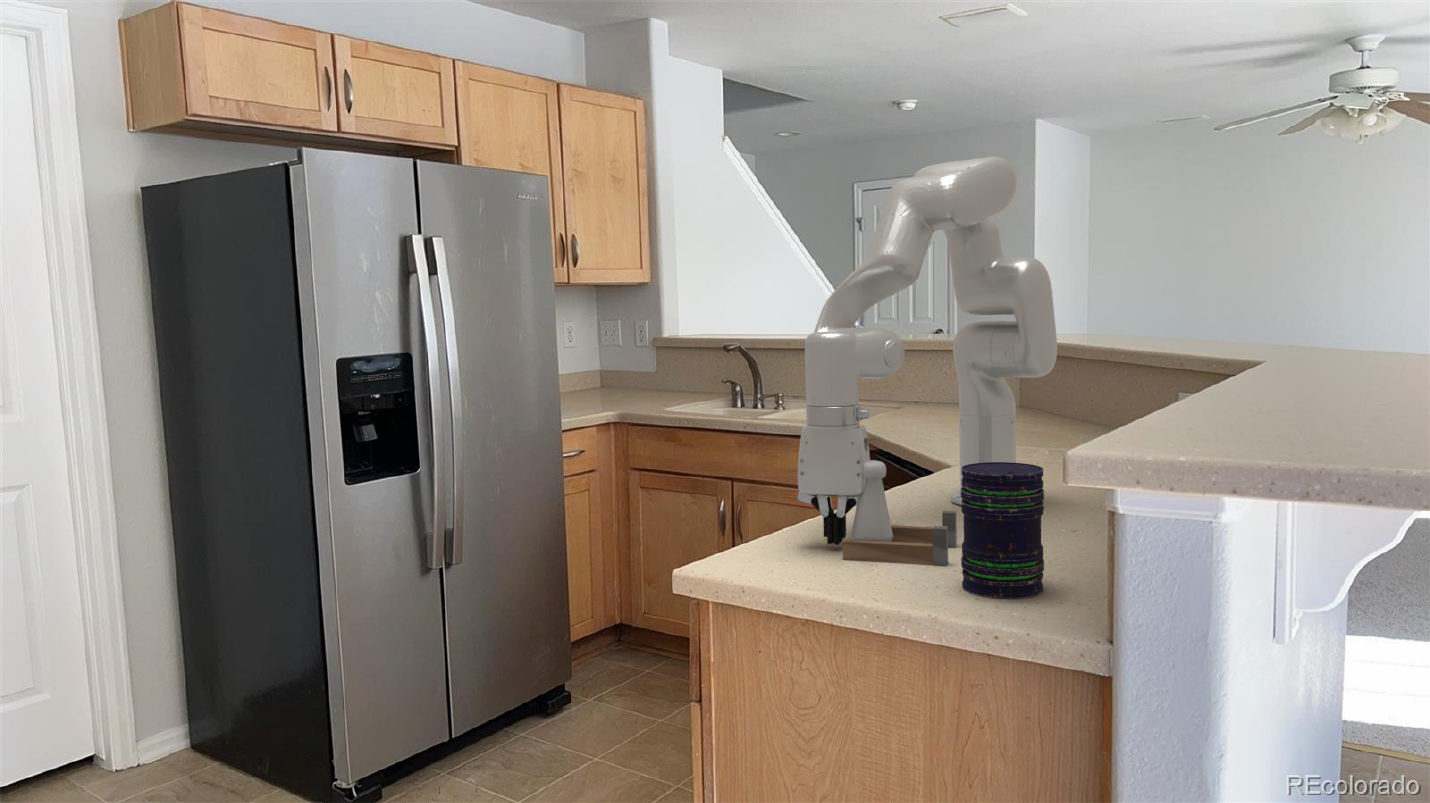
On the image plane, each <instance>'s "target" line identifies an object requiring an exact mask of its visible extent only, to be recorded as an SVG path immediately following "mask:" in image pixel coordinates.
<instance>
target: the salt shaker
mask: <svg viewBox="0 0 1430 803" xmlns="http://www.w3.org/2000/svg"><path fill="white" fill-rule="evenodd" d="M886 476H887V467H886V464H885V463H884V462H883V461H879V460H874V459H872V460H871V459H870V460H869V461H868V462H866V463H865V465H864V467H863V477H864V479H866V489H865V492H864V494H863V495H861V496H858V500H857V506H855V507H856V508H855V514H854V519H853V523H852V524H853V525H852V529H851V530H852V531H851V536H852V540H863V541H883V542H891V540H892V537H893V533H892V528H891V525H892V524H891V519H890V512H889V507H888V504H887V502H888V501H887V498H886V492H885V488H884V483H883V478H886Z"/></svg>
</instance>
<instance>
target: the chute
mask: <svg viewBox="0 0 1430 803" xmlns="http://www.w3.org/2000/svg"><path fill="white" fill-rule="evenodd" d="M941 513H942V515H941V517H942V519H941V520H942V522H941V523H942V524H941V525H933V526H918V525H917V526H915V525H894V524H893V525H892V524H891V528H892V533H893V537H892V540H891V542H883V541H863V540H853V539H844V540H842V560H843V561H844V560H849V561H862V562H863V561H864V562H865V561H866V562H879V563H880V562H881V563H882V562H883V563H899V564H900V563H901V564H918V565H933V566H943V567H945V566H946V567H947V566H948V563H949V548H956V547H957V545H958V544H957V543H958V542H957V537H958V536H957V528H958V527H957V510H942V512H941Z"/></svg>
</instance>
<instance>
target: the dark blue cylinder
mask: <svg viewBox="0 0 1430 803" xmlns="http://www.w3.org/2000/svg"><path fill="white" fill-rule="evenodd" d="M961 473H962V475H963V478H962V488H961V498H962V504H961V505H960V507H961V512H962V514H963V541H962V543H961V554H962V555H961V557H960V562H961V563H960V564H961V568H962V571H961V574H962V576H963V580H962V582H961V583H962V584H961V585H962V586H961V587H962V589H963V590H964V591H965V592H967V593H969V594H971V595H974V596H978V597H982V598H988V599H990V598H991V599H997V600H999V599H1000V600H1022V599H1029V598H1033V597H1036V596H1039V595H1041V594H1042V593H1043V591H1044V584H1043V579H1044V573H1043V572H1045V571H1044V570H1045V559H1044V546H1043V544H1042V516H1043V515H1044V509H1045V506H1044V500H1045V489H1044V480H1043V477H1044V468H1043V467H1042V466H1039V465H1036V464H1030V463H1024V462H1023V463H1022V462H1016V463H1012V462H986V463H974V464H968V465H965V466H963V467H962V468H961Z"/></svg>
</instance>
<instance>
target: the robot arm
mask: <svg viewBox="0 0 1430 803" xmlns="http://www.w3.org/2000/svg"><path fill="white" fill-rule="evenodd" d="M1017 185H1018V184H1017V175H1016V172H1015V169H1014V167H1013V166H1012V165H1011V163H1010V162H1009V161H1008V160H1006V159H1005V158H1002V157H1000V156H986V157H977V158H971V159H965V160H964V159H963V160H955V161H954V160H953V161H948V162H941V163H935V164H931V165H927V166H925V167H923V168H920V169H919V170H917V171H916V172H915V173H914V175H913V177H908V178H906V179H902V180H900V181H898V182H896V183H895V184H893V185H892V187H891V188H890V189H889V191H888V193H887V195H886V198H885V201H884V204H883V207H882V210H881V213H880V215H879V219H878V221H877V224H876V228H875V231H874V233H873V237H872V239H871V241H870V245H869V248H868V251H867V253H866V257H865V259H864V260H863V262H862V263H861V264H860V265H859V266H858V267H857V268H856V269H854V270H853V271H852V272H851V273H850V274H849V275H848V276H847V277H846V278H845V279H844V280H843V281H842V282H841V284H840V285H839V286H838V287H837V288H836V289H835V290H834V291H833V292H832V293H831V295H830V296H829V297H828V299H827V300H826V302H825V304H824V305H823V307H822V309H821V311H820V315H819V317H818V320H817V322H816V325H815V329H814V332H812V333H810V334H808V336H807V337H806V339H805V342H804V343H805V344H804V355H805V356H804V357H805V359H804V360H805V361H804V364H805V365H804V366H805V395H806V396H805V397H806V398H805V399H806V401H805V402H806V406H805V407H806V409H805V410H806V412H805V413H806V425H803V426H802V428H801V429H802V430H801V433H800V438H799V439H800V440H799V449H798V461H797V487H798V493H797V500H798V501H799V502H803V503H805V504H810V505H812V506H813V507H814V508H815V509H816V510H817V511H818V512H819V513H820V516H821V517H823V537H824V538H826V543H827V545H832V544H834V545H837V546H838V545H840V544H841V543H843V541H844V540H843V539H845V538H846V536H847V514H848V513H849V512H850V511H851V510H852V509H853V508H855V507H856V506H857V500H858V496H861V495H863V494H864V492H865V489H866V479H864V477H863V467H864V465H865V463H866V462H868V461H869V460H871V457H870V455H871V454H870V447H869V440H868V433H867V429H866V426H865V425H862V424H861V425H860V423H861V421H863V420H864V419H866V420H868V419H870V410H869V409H864V408H862V406H861V404H860V399H859V398H860V397H859V396H860V395H859V390H860V389H859V385H860V384H859V379H867V380H881V379H882V380H883V379H887V378H889V377H892V376H893V375H894V374H896V373H897V372H898V371H899V369H901V367H902V365H903V363H904V360H905V353H906V352H905V351H906V350H905V346H904V343H903V341H902V340H901V338H900V337H899V336H898V335H897V333H895V332H893V331H891V330H889V329H885V328H880V327H854V326H855V325H856V323H857V321H858V320H859V319H860V318H861V317H862V316H863V315H864V314H865V313H866V312H867V311H868V310H869V309H871V308H872V307H873V306H875V305H876V304H878V303H880V302H883V301H884V300H886V299H889V298H890V297H893V296H895V295H896V294H898V293H899V292H902V291H904V290H905V289H908V288H909V287H910V286H912V285H913V284H915V282H916V281H917V280H918V278H919V276H920V274H921V271H922V267H923V265H924V264H923V263H924V261H925V257H926V255H927V251H928V248H929V245H930V242H931V238H932V236H933V234H934V233H935V232H937V231H943V233H944V235H945V238H946V240H947V244H948V250H949V257H950V259H949V260H950V265H951V274H952V281H953V282H952V283H953V290H954V296H955V300H956V304H957V306H958V308H959V309H960V310H961V311H962V312H964V313H965V314H969V315H974V316H1002V315H1003V316H1007V315H1009V316H1011V315H1013V316H1014V319H1015V320H1014V321H1013V320H1012V321H1010V320H1009V321H1008V320H982V321H975V322H971V323H968V324H966V325H963V326H962V327H961V328H960V329H959V330H957V332H956V334H955V335H954V337H953V338H954V339H953V342H952V356H953V360H954V366H955V370H956V376H957V384H958V398H959V399H958V400H959V401H958V406H959V409H958V410H959V411H958V412H959V416H958V417H959V490H957V491H953V492H952V493H951V494H950V501H951V502H952V503H954V504H956V505H960V506H961V504H962V498H961V488H962V478H963V475H962V473H961V468H962V467H963V466H965V465H968V464H974V463H986V462H1012V463H1017V454H1016V453H1017V447H1016V446H1017V443H1016V442H1017V439H1016V438H1017V434H1016V433H1017V431H1016V430H1017V428H1016V426H1017V422H1016V421H1017V420H1016V419H1017V418H1016V417H1017V415H1016V414H1017V408H1016V407H1017V404H1016V400H1015V396H1014V394H1013V391H1012V389H1011V388H1010V386H1009V384H1008V383H1007V381H1006V380H1005V378H1031V379H1032V378H1033V379H1034V378H1042V377H1045V376H1046V375H1048V374H1050V373H1051V371H1052V370H1053V369H1054V368H1055V366H1056V363H1057V356H1058V338H1057V327H1056V318H1055V316H1056V315H1055V310H1054V308H1055V307H1054V299H1053V296H1054V295H1053V289H1052V283H1051V278H1050V275H1049V272H1048V270H1047V268H1046V267H1045V265H1044V264H1043V263H1042V262H1041V261H1040V260H1038V259H1037V258H1034V257H1029V256H1013V257H1011V256H1010V257H1005V256H1004V254H1003V249H1002V242H1001V235H1000V230H999V228H998V224H997V222H996V220H995V218H994V215H996V214H998V213H1001V212H1002V211H1003V210H1005V209H1006V208H1007V207H1008V206H1009V205H1010V204H1011V202H1012V201H1013V199H1014V197H1015V194H1016V190H1017ZM832 497H838V498H837V507H836V511H835V510H834V508H833V503H832Z"/></svg>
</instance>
